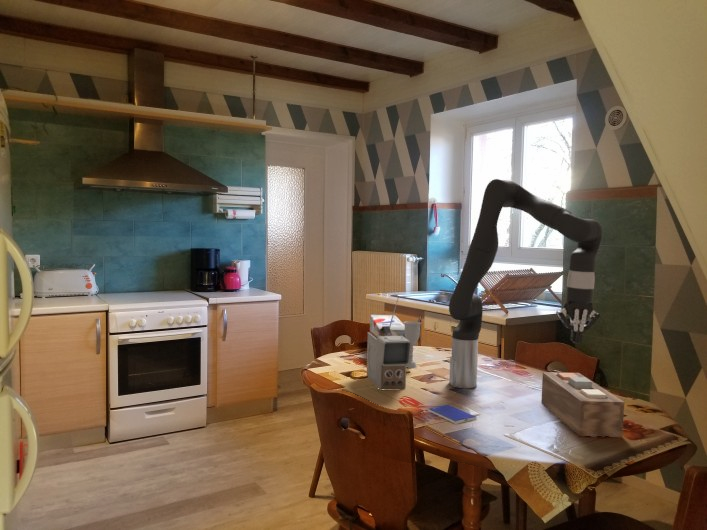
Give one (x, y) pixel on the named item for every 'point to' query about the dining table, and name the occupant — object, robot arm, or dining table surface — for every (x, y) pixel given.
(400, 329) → the soda pack
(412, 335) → the chalice
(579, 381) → the slate key
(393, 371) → the portable television
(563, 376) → the terracotta key
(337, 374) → the dining table surface
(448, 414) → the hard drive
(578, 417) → the keypad console
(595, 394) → the ivory key
